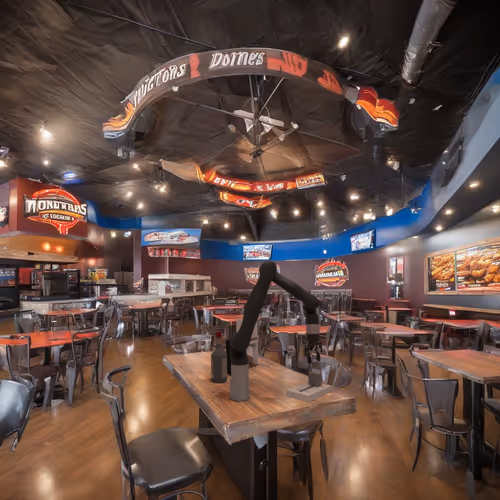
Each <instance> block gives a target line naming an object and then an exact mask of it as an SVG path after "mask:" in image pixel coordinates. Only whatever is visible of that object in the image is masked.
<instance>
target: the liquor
mask: <svg viewBox="0 0 500 500" xmlns="http://www.w3.org/2000/svg"><path fill="white" fill-rule="evenodd" d="M222 335H223V332H222V331H216V332H215V337H216V338H215V339H216V342H215V343H216V344H215V349H214V350H213V351H212V353H211V354H210V381H211V383H212V382H213V384H223V383H224V382H225V383H226V382H227V380H228V375H227V353H226V349H224V347H223V346H222ZM225 383H224V384H225Z"/></svg>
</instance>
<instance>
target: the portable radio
mask: <svg viewBox="0 0 500 500" xmlns="http://www.w3.org/2000/svg"><path fill="white" fill-rule="evenodd" d="M230 337H231V336H228V339H226V340H225V351H226V353H227V374H229V375H228V376H231V358H230Z"/></svg>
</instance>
